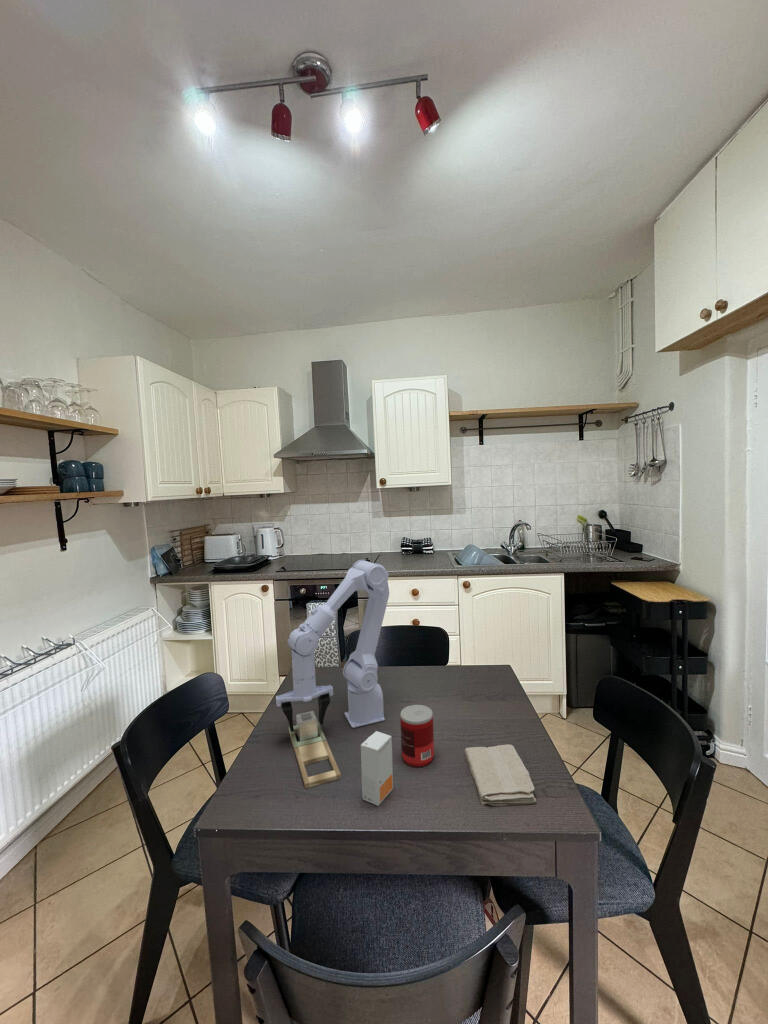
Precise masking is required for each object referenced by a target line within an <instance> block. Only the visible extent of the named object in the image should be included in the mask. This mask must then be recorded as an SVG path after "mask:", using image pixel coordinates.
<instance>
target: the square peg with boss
mask: <svg viewBox="0 0 768 1024" xmlns="http://www.w3.org/2000/svg"><path fill="white" fill-rule="evenodd" d="M295 718H296V725H297V734H296V736H297V737H296V738H297V739H298V740H297V741H298V742H300V741H304V740H309V739H313V738H317V737H319V735H318V732H317V721H318V718H317V716H316V714H315V711H314V710H311V711H310V710H309V711H307V712H301V713H298V714H296V715H295Z"/></svg>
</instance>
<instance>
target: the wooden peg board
mask: <svg viewBox="0 0 768 1024" xmlns="http://www.w3.org/2000/svg"><path fill="white" fill-rule="evenodd" d="M321 726H322V725H320V722H319V720H317V732H318V737H317V738H313V739H309V740H304V741H300V742H299V741H298V740H297V737H296V736H297V724H296V725H293V727H294V731H293V732H291V731H290V726H288V733H289V737H290V741H291V744H292V748H293V750H294V754H295V756H296V761H297V763H298V764H297V765H298V767H299V771H300V775H301V779H302V782H303V785H304V789H309V788H313V787H315V786H316V787H317V786H319V785H323V784H326V783H330V782H334V781H337V780H340V779H342V774H341V771H340V769H339V767H338V764H337V762H336V759H335V757H334V755H333V753H332V750H331V748H330V746H329V743H328V741H327V738H326V736H325V733H324V731H323V728H322V727H321ZM327 760H328V762H329V764H330V767H331V769H332V770H330V771H327V772H322V773H319V774H315V775H311V776H308V773H307V769H306V767H305V766H307V765H311V764H315V763H318V762H321V761H327Z"/></svg>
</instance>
